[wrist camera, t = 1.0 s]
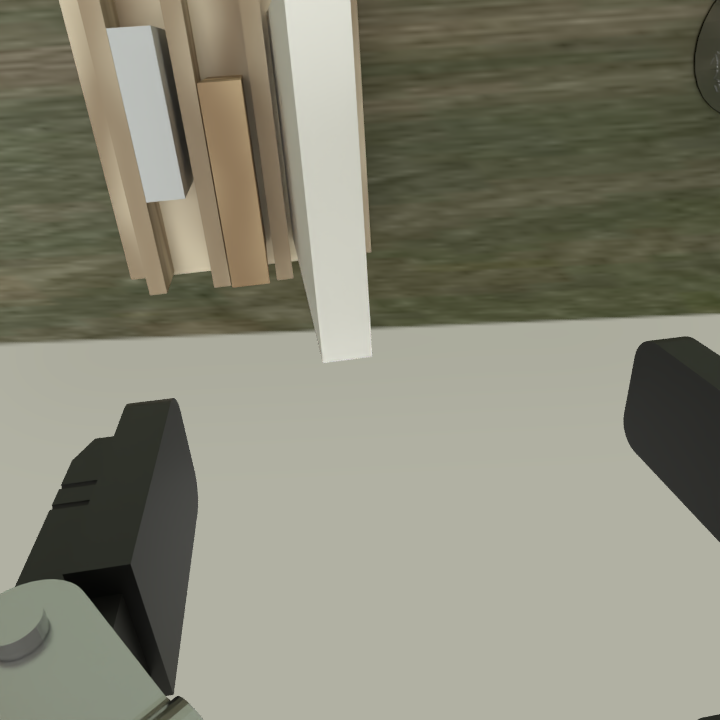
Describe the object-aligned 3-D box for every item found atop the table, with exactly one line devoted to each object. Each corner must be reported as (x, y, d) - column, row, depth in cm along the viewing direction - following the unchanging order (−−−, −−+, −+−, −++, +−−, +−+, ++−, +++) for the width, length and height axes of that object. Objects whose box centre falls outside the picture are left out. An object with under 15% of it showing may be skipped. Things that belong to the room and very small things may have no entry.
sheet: (301, 10, 33) (348, -29, 18) (323, 235, 40) (372, 356, 24) (266, 13, 33) (281, -25, 17) (293, 239, 39) (322, 363, 24)
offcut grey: (166, 30, 33) (150, 25, 28) (194, 177, 37) (185, 198, 31) (129, 32, 33) (106, 28, 27) (161, 181, 36) (146, 202, 31)
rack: (352, -22, 34) (368, -34, 30) (368, 247, 42) (382, 270, 37) (63, -5, 32) (32, -15, 28) (134, 273, 40) (119, 301, 35)
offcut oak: (242, 74, 34) (240, 80, 27) (266, 242, 39) (269, 283, 32) (207, 77, 34) (196, 83, 27) (235, 245, 39) (232, 287, 32)
